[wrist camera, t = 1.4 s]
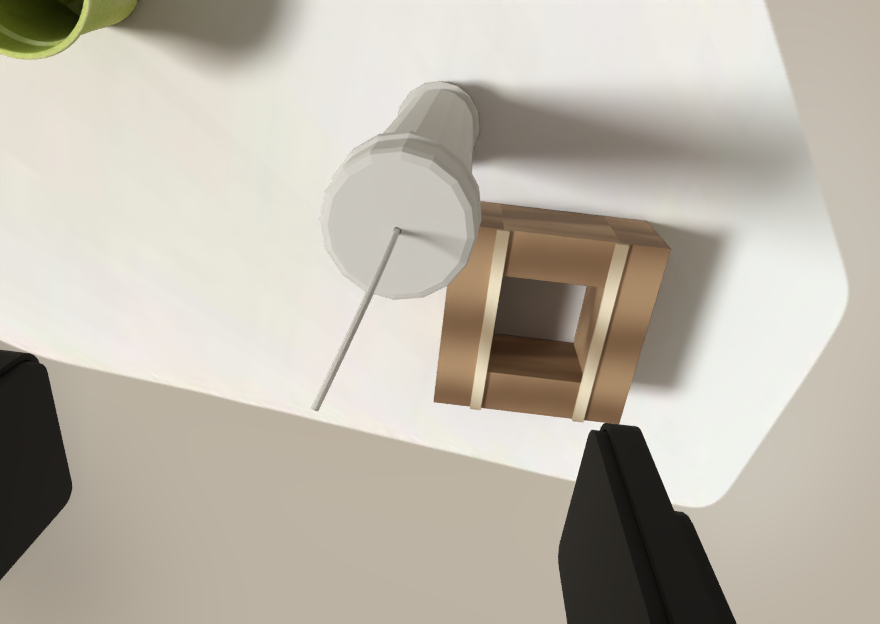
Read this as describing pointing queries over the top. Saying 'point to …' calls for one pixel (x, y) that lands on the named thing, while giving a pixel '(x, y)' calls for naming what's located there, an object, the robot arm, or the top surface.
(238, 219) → the top surface
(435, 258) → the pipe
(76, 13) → the plant pot
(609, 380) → the socket block
